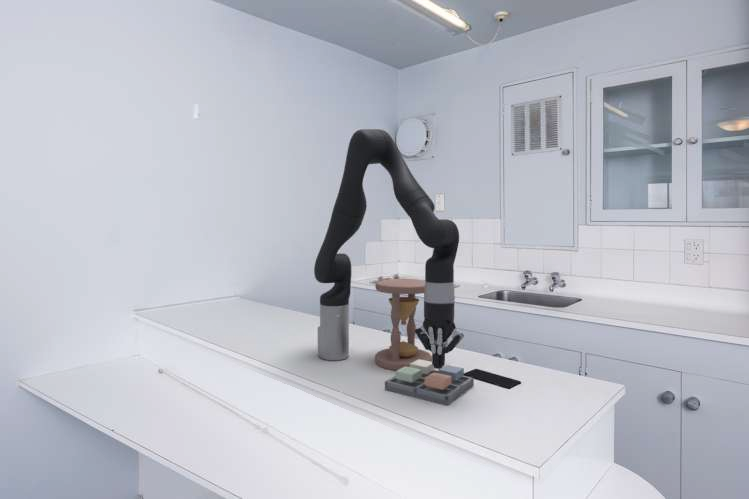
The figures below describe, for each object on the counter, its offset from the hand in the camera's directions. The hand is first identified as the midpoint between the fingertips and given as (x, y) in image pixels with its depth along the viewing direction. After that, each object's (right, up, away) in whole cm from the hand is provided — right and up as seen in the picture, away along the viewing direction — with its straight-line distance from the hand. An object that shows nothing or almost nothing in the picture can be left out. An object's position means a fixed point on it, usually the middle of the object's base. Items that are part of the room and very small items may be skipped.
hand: (438, 367), depth 118 cm
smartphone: (+17, -7, +13) cm, 23 cm away
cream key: (-3, -4, +12) cm, 12 cm away
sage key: (-7, -4, +5) cm, 10 cm away
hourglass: (-7, -6, +28) cm, 30 cm away
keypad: (-1, -7, +6) cm, 9 cm away
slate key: (+4, -4, +7) cm, 9 cm away
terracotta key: (0, -4, +1) cm, 4 cm away
